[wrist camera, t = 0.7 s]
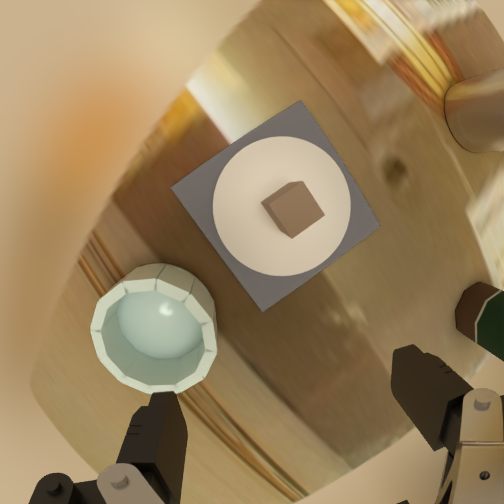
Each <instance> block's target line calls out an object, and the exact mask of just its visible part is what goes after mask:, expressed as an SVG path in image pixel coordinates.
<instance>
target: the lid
mask: <svg viewBox="0 0 504 504" xmlns="http://www.w3.org/2000/svg"><path fill="white" fill-rule="evenodd" d="M350 211H351V201H350V193H349V189H348V185H347V182H346V180H345V177H344V175H343V173H342V171H341V170H340V168H339V166H338V165H337V164H336V162H335V161H334V160H333V159H332V158H331V157H330V156H329V155H328V154H327V153H326V152H325V151H323V150H322V149H321V148H319V147H318V146H316V145H314V144H312V143H310V142H308V141H306V140H302V139H299V138H294V137H287V136H277V137H269V138H265V139H261V140H259V141H256V142H254V143H251V144H250V145H248V146H246V147H244V148H243V149H242V150H240V151H239V152H238V153H237V154H235V156H234V157H233V158H232V159H231V160H230V161H229V162H228V163H227V165H226V166H225V167H224V169H223V171H222V173H221V174H220V176H219V179H218V181H217V184H216V187H215V191H214V197H213V216H214V222H215V225H216V229H217V232H218V234H219V236H220V238H221V240H222V242H223V244H224V245H225V247H226V248H227V249H228V251H229V252H230V253H231V254H232V255H233V256H234V257H235V258H236V259H237V260H238V261H239V262H241V263H242V264H244V265H245V266H247V267H249V268H251V269H252V270H254V271H257V272H260V273H263V274H267V275H272V276H291V275H296V274H300V273H303V272H306V271H308V270H311V269H313V268H315V267H316V266H318V265H319V264H321V263H322V262H324V261H325V260H326V259H327V258H328V257H329V256H330V255H331V254H332V253H333V252H334V251H335V250H336V248H337V247H338V246H339V244H340V243H341V241H342V239H343V237H344V235H345V232H346V230H347V227H348V223H349V219H350Z"/></svg>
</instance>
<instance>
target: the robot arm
mask: <svg viewBox="0 0 504 504" xmlns="http://www.w3.org/2000/svg"><path fill="white" fill-rule="evenodd" d="M445 114H446V119H447V122H448V125H449V128H450V130H451V132H452V134H453V136H454V137H455V139H456V140H457V141H458V143H459V144H460V145H461V146H462V147H463V148H465V149H466V150H468V151H470V152H474V153H480V152H500V151H504V67H503V68H500V69H496V70H493V71H490V72H487V73H484V74H481V75H479V76H475V77H472V78H469V79H467V80H464V81H461V82H458V83H456V84H454V85H452V86H451V87H450V88H449V89H448V91H447V94H446V97H445ZM391 389H392V393H393V396H394V397H395V399H396V400H397V402H398V403H399V404H400V406H401V407H402V408H403V410H404V411H405V412H406V414H407V415H408V416H409V418H410V419H411V420H412V422H413V423H414V424H415V426H416V427H417V428H418V430H419V431H420V433H421V434H422V435H423V437H424V438H425V439H426V441H427V442H428V444H429V445H430V446H431V448H432V449H433V450H434V451H436V450H438V449H441V448H443V447H446V448H447V449H448V451H447V454H446V459H445V464H444V469H443V473H442V478H441V483H440V487H439V491H438V495H437V498H436V501H435V503H434V504H504V395H502V396H499V395H498V394H497V393H496V392H495V391H493V390H490V389H486V388H479V389H473V388H472V387H471V386H470V385H469V384H468V383H467V382H466V381H465V380H464V379H462V378H461V377H460V376H459V375H458V374H457V373H456V372H455V371H453V370H452V369H451V368H450V367H449V366H447V365H446V363H445V362H443V361H442V360H441V359H440V358H439V357H437V356H434V355H432V354H430V353H423V352H422V351H421V350H420V349H419V348H418V347H416V346H415V345H414V344H411V345H408V346H405V347H402V348H398V349H395V350H394V352H393V360H392V374H391ZM126 434H127V435H125V438H124V441H123V444H122V447H121V450H120V453H119V456H118V458H117V461H116V464H113V465H111V466H108V467H107V468H105V469H104V470H103V471H102V472H101V473H100V474H99V476H98V478H97V480H93V481H86V482H79V483H73V481H72V480H71V479H70V477H69V476H67V475H65V474H63V473H52V474H48V475H46V476H44V477H43V478H42V479H41V480H40V481H39V482H38V484H37V486H36V487H35V490H34V492H33V494H32V497H31V499H30V502H29V504H180V498H181V489H182V480H183V472H184V463H185V455H186V447H187V439H188V432H187V425H186V422H185V419H184V416H183V413H182V411H181V408H180V405H179V402H178V399H177V396H176V394H175V392H174V391H165V392H153V393H152V396H151V399H150V402H149V405H148V406H141V407H140V408H139V409H138V410H137V411H136V412H135V413H134V415H133V416H132V419H131V422H130V424H129V427H128V430H127V433H126ZM397 504H409V503H408V501H407V500H405V501H402V502H400V503H397Z"/></svg>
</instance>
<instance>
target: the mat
mask: <svg viewBox="0 0 504 504" xmlns="http://www.w3.org/2000/svg"><path fill="white" fill-rule="evenodd" d="M277 136H287V137H294V138H299V139H302V140H306V141H308V142H310V143H312V144H314V145H316V146H318V147H319V148H321V149H322V150H323V151H325V152H326V153H327V154H328V155H329V156H330V157H331V158H332V159H333V160H334V161H335V162H336V164H337V165H338V166H339V168H340V170H341V171H342V173H343V175H344V177H345V180H346V182H347V185H348V189H349V193H350V201H351V211H350V219H349V223H348V227H347V230H346V232H345V235H344V237H343V239H342V241H341V243H340V244H339V246H338V247H337V248H336V250H335V251H334V252H333V253H332V254H331V255H330V256H329V257H328V258H327V259H326V260H325V261H324V262H322V263H321V264H319V265H318V266H316V267H315V268H313V269H311V270H308V271H306V272H303V273H300V274H296V275H291V276H272V275H267V274H263V273H260V272H257V271H254V270H252V269H251V268H249V267H247V266H245V265H244V264H242V263H241V262H239V261H238V260H237V259H236V258H235V257H234V256H233V255H232V254H231V253H230V252H229V251H228V249H227V248H226V247H225V245H224V244H223V242H222V240H221V238H220V236H219V234H218V232H217V229H216V225H215V222H214V216H213V197H214V191H215V187H216V184H217V181H218V179H219V176H220V174H221V173H222V171H223V169H224V167H225V166H226V165H227V163H228V162H229V161H230V160H231V159H232V158H233V157H234V156H235V154H237V153H238V152H239V151H240V150H242V149H243V148H244V147H246V146H248V145H250V144H251V143H254V142H256V141H259V140H261V139H265V138H269V137H277ZM171 189H172V191H173V192H174V193H175V195H176V196H177V197H178V199H179V200H180V202H181V203H182V204H183V206H184V207H185V209H186V210H187V211H188V213H189V214H190V215H191V217H192V218H193V220H194V221H195V222H196V224H197V225H198V226H199V228H200V229H201V231H202V232H203V233H204V235H205V236H206V237H207V239H208V240H209V241H210V243H211V244H212V246H213V247H214V248H215V250H216V251H217V252H218V254H219V255H220V256H221V258H222V259H223V260H224V262H225V263H226V264H227V266H228V267H229V268H230V270H231V271H232V272H233V274H234V275H235V276H236V278H237V279H238V280H239V282H240V283H241V284H242V286H243V287H244V288H245V290H246V291H247V292H248V294H249V295H250V296H251V298H252V299H253V300H254V302H255V303H256V304H257V306H258V307H259V308H260V309H261V311H262V312H263V311H265V310H266V309H268V308H269V307H271V306H272V305H274V304H275V303H276V302H278V301H279V300H281V299H282V298H284V297H285V296H286V295H288V294H289V293H291V292H292V291H294V290H295V289H296V288H298V287H299V286H301V285H302V284H303V283H305V282H306V281H308V280H309V279H310V278H312V277H313V276H315V275H316V274H317V273H319V272H320V271H321V270H323V269H324V268H326V267H327V266H328V265H330V264H331V263H332V262H334V261H335V260H336V259H338V258H339V257H340V256H342V255H343V254H345V253H346V252H347V251H349V250H350V249H351V248H353V247H354V246H355V245H357V244H358V243H359V242H361V241H362V240H363V239H364V238H366V237H367V236H368V235H370V234H371V233H372V232H374V231H375V230H376V229H378V228H379V227H380V224H379V222H378V220H377V218H376V217H375V215H374V213H373V211H372V210H371V208H370V206H369V204H368V203H367V201H366V199H365V197H364V196H363V194H362V192H361V191H360V189H359V187H358V186H357V184H356V182H355V181H354V179H353V177H352V176H351V174H350V172H349V171H348V169H347V168H346V166H345V164H344V163H343V161H342V160H341V158H340V156H339V155H338V153H337V152H336V150H335V149H334V147H333V146H332V144H331V143H330V141H329V140H328V138H327V137H326V135H325V134H324V132H323V131H322V129H321V128H320V126H319V125H318V123H317V122H316V120H315V119H314V118H313V116H312V115H311V113H310V112H309V111H308V109H307V108H306V106H305V105H304V104H303V102H302V101H299V102H297V103H296V104H294V105H292V106H291V107H289V108H287V109H286V110H284V111H282V112H281V113H279V114H277V115H276V116H274V117H273V118H271V119H269V120H268V121H266V122H265V123H263V124H262V125H260V126H258V127H257V128H255V129H254V130H252V131H251V132H249V133H248V134H246V135H245V136H243V137H242V138H240V139H239V140H237V141H236V142H234V143H233V144H231V145H230V146H228V147H227V148H225V149H224V150H222V151H221V152H219V153H218V154H217V155H215V156H214V157H212V158H211V159H209V160H208V161H207V162H205V163H204V164H202V165H201V166H200V167H198V168H197V169H195V170H194V171H193V172H191V173H190V174H188V175H187V176H186V177H184V178H183V179H182V180H180V181H179V182H178V183H176V184H175V185H174V186H172V187H171Z"/></svg>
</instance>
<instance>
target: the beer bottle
mask: <svg viewBox="0 0 504 504" xmlns="http://www.w3.org/2000/svg"><path fill="white" fill-rule="evenodd" d="M455 312H456V324H457V330H459V331H460V332H461V333H462V334H464V335H465V336H467V337H468V338H470V339H471V340H473V341H474V342H476V343H477V344H479V345H480V346H482V347H483V348H485V349H486V350H488V351H489V352H491V353H492V354H493V355H495V356H496V357H498V358H499V359H501V360H502V361H504V291H502V290H500V289H497V288H495V287H493V286H490V285H488V284H485V283H481V282H479V283H477V284H475V285H474V286H472V287H470V288H469V289H467V290H466V291H464V293H463V295H462V298H461V300H460V302H459V304H458V306H457V308H456V310H455Z"/></svg>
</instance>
